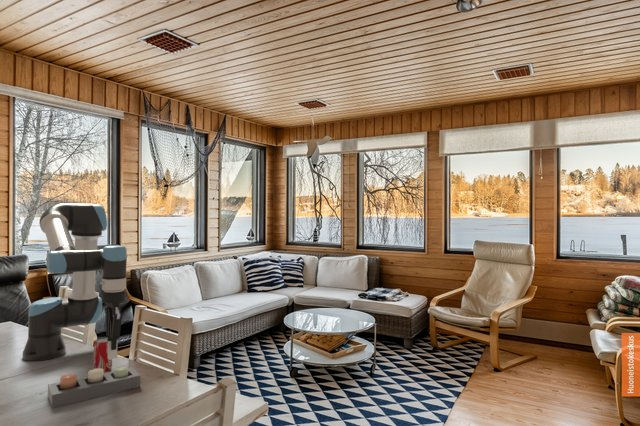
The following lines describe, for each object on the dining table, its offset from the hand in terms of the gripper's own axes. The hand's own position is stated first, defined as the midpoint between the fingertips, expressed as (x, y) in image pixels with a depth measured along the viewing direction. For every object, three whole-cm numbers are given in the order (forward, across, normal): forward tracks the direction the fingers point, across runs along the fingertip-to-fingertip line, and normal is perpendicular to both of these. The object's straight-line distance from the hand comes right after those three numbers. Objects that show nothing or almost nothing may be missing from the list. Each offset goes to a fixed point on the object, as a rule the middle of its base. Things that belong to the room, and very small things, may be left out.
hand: (112, 358), depth 142 cm
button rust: (+6, 0, -13) cm, 14 cm away
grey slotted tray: (+10, 0, -5) cm, 11 cm away
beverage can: (+11, -18, +1) cm, 21 cm away
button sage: (+8, 0, +3) cm, 8 cm away
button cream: (+6, 0, -5) cm, 8 cm away
